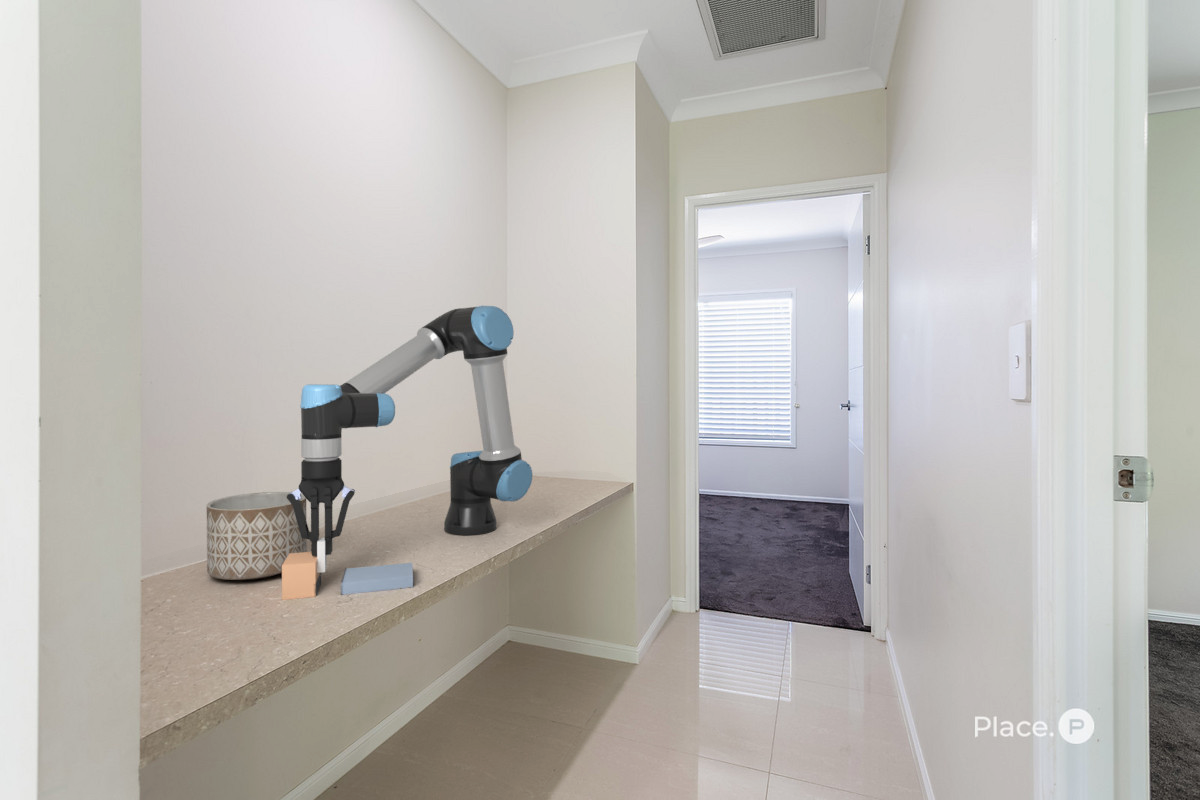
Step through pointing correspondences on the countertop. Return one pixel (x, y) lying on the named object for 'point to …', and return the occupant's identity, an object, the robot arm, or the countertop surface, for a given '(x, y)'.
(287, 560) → the block
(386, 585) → the blue-grey slab
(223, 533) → the planter
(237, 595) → the countertop surface
